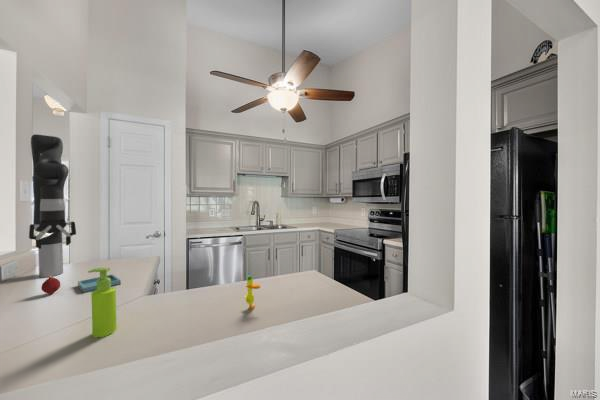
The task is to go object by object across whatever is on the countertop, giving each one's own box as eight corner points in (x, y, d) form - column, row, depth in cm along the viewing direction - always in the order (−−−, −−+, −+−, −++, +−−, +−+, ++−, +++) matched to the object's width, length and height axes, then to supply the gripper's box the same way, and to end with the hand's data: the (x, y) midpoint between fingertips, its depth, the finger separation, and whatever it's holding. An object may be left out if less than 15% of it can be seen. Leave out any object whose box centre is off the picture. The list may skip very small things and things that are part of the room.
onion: (64, 291, 110) (63, 274, 110) (50, 297, 104) (49, 278, 104) (52, 291, 110) (52, 273, 110) (37, 296, 105) (37, 278, 104)
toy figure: (262, 306, 93) (261, 275, 93) (258, 310, 90) (258, 278, 89) (245, 304, 95) (245, 274, 94) (241, 309, 91) (241, 277, 91)
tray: (77, 286, 117) (77, 281, 117) (113, 278, 127) (112, 274, 127) (83, 293, 108) (83, 288, 108) (120, 284, 118) (120, 279, 118)
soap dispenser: (98, 328, 79) (96, 266, 79) (120, 326, 80) (119, 265, 79) (83, 338, 73) (81, 272, 73) (108, 337, 74) (106, 271, 73)
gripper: (73, 208, 114) (74, 243, 114) (27, 210, 103) (28, 248, 103) (76, 209, 109) (77, 245, 110) (28, 210, 98) (30, 251, 99)
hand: (53, 246), depth 107 cm, fingers open, 8 cm apart
